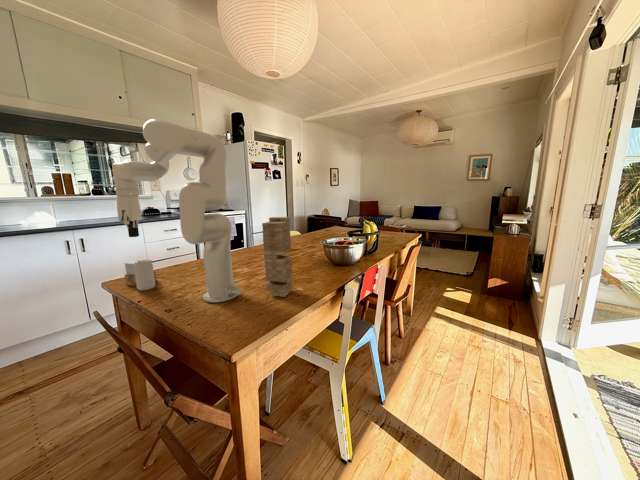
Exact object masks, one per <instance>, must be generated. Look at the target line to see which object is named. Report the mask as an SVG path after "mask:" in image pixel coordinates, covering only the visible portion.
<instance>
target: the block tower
mask: <svg viewBox="0 0 640 480" xmlns="http://www.w3.org/2000/svg"><path fill="white" fill-rule="evenodd" d="M261 225H262V226H261V227H262V241H263V242H262V243H263V254H264V255H263V258H264V259H263V260H264V265H265V266H264V269H265V270H264V271H265V281H267V283H266V292H272V296H274V297H283V298H284V297H285V298H286V297H287V295H289V294H290V293H291V292H292V291H293V290H294V286H293V285H294V283H293V266H292V265H293V264H292V263H293V262H292V257H290V256H288V255H286V254H287V253H289V252H291V251H292V247H291V244H292V243H291V242H292V240H291V218H290V216H272V217H269V218H268V221H266V222H263V223H261Z"/></svg>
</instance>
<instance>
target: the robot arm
mask: <svg viewBox="0 0 640 480" xmlns="http://www.w3.org/2000/svg"><path fill="white" fill-rule="evenodd" d="M142 135H143V136H142V137H143V138H144V140H145V141H146V142H147V143H146V144H145V149H144V150H145V153H146V155H147V157H148V158H149V159H150V160H152V162H146V161H145V162H144V161H143V162H142V161H132V160H124V161H122V162H115V163H112V166H111V167H112V168H111V169H112V176H113V181H114V186H115V187H114V188H115V193H116V197H117V198H116V210H117V218H118V219H117V220H118V221H119V222H123V225H126V228H127V232H128V237H129V238H137V237H139V236H140V233H139V222H140V220H141V219H142V210H141V205H140V200H139V197H140V192H139V187H138V182H156V181H158V180H160V179H161V178H163V177H164V176H165V175H166V174H168V172H169V170H170V169H169V168H170V160H171V159H173V158H174V157H175V156H176V155H183V156H190V157H196V158H197V157H198V158H202V161H201V163H200V165H199V170H198V175H199V182H198V181H197V182H196V181H192V182H187V183H186V184H183V186H182V187H181V189H180V191H179V195H178V207H179V221H180V222H179V223H180V231H181V235H182V237H183V238H184V240H185V242H187V243H189V244H191V245H200V244H204V246H203V250H202V251H203V253H202V254H203V264H204V265H203V266H204V273H205V274H204V275H205V282H206V283H205V284H206V292H205V293H204V294H203V296H202V298H203V300H204V301H205V302H207V303H223V302H226V301H231V300H232V299H235V298H236V297H237V296H240V295H241V294H242V291H243V289H242V287H237V284H236V283H235V282H234V275H233V264H232V251H231V237H232V222H231V221H230V218H229V217H227V216H226V215H224V214H222V213H216V212H215V213H206V212H207V211H217V210H220V209H223V208H224V207H225V206H226V204H227V203H226V202H227V177H226V164H227V150H226V146H225V145H224V143H223V141H222V140H220V138H218V137H216V136H214V135H212V134H210V133H207V132H203V131H199V130H196V129H191V128H189V127H188V128H187V127H184V126H181V125H180V124H176V123H173V122H169V121H165V120H161V119H157V118H151V119H149V120H147V121H146V122H145V123H144V124H143V127H142ZM205 213H206V214H205Z"/></svg>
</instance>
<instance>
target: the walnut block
mask: <svg viewBox="0 0 640 480" xmlns="http://www.w3.org/2000/svg"><path fill="white" fill-rule="evenodd" d="M153 272H154V279H155V282H156V281H157V275H156V270H155V269H153ZM124 280H125V281H124V282H125V285H126V286H132V287H137V285H136V278H135V275H129V274H126V273H124Z"/></svg>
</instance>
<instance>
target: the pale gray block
mask: <svg viewBox="0 0 640 480" xmlns="http://www.w3.org/2000/svg"><path fill="white" fill-rule="evenodd" d="M145 259H146V258H145ZM145 259H144V258H143V259H142V258H141V259H136V260H132V261H128V262H125V263H124V266H125V272H126V273H125V274H129V275H135V272H134V266H133V265H134V264H135V263H134V262H135V261H138V260H145ZM150 260H151V262H152V265H153V260H152V259H150ZM153 266H154V265H153Z"/></svg>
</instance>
